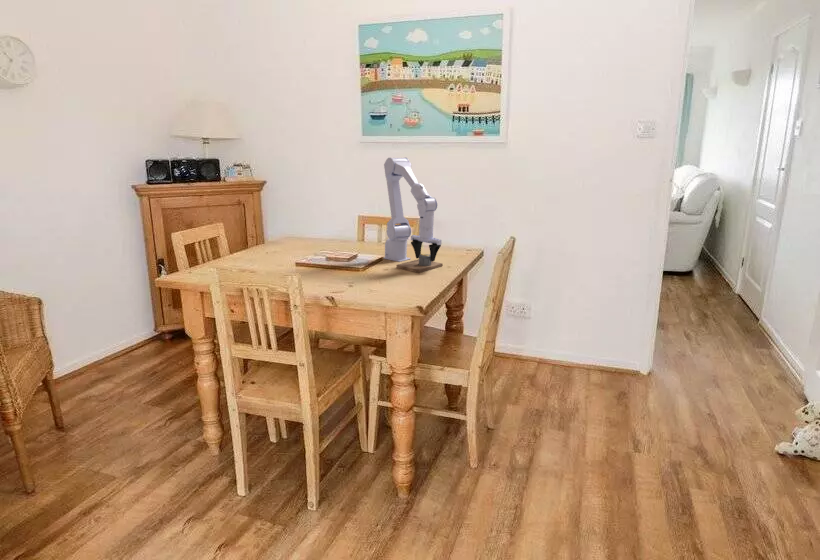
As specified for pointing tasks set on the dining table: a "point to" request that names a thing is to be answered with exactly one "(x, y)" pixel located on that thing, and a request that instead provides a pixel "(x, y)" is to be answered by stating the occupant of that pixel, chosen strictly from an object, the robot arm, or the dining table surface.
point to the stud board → (418, 266)
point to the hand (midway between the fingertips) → (425, 259)
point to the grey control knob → (424, 260)
